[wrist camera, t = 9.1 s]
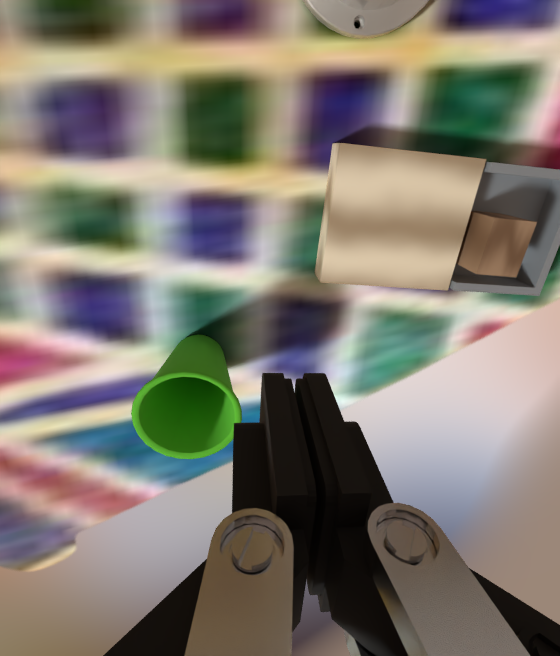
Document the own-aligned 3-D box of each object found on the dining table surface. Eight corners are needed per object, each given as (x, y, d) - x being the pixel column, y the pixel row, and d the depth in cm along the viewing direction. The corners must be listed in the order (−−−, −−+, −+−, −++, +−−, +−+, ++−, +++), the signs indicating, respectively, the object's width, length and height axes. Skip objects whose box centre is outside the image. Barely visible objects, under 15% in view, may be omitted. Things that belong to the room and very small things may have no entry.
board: (332, 143, 34) (340, 142, 31) (467, 158, 35) (486, 159, 33) (314, 273, 39) (320, 282, 36) (433, 281, 40) (447, 290, 38)
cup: (255, 337, 41) (260, 397, 31) (219, 399, 44) (213, 472, 34) (177, 302, 39) (156, 355, 29) (144, 371, 42) (115, 440, 32)
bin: (469, 161, 36) (492, 162, 32) (558, 171, 37) (588, 173, 34) (436, 279, 40) (453, 290, 37) (516, 284, 42) (539, 295, 38)
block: (495, 217, 32) (537, 222, 33) (463, 209, 37) (501, 213, 37) (476, 274, 34) (516, 277, 35) (448, 259, 39) (484, 262, 39)
